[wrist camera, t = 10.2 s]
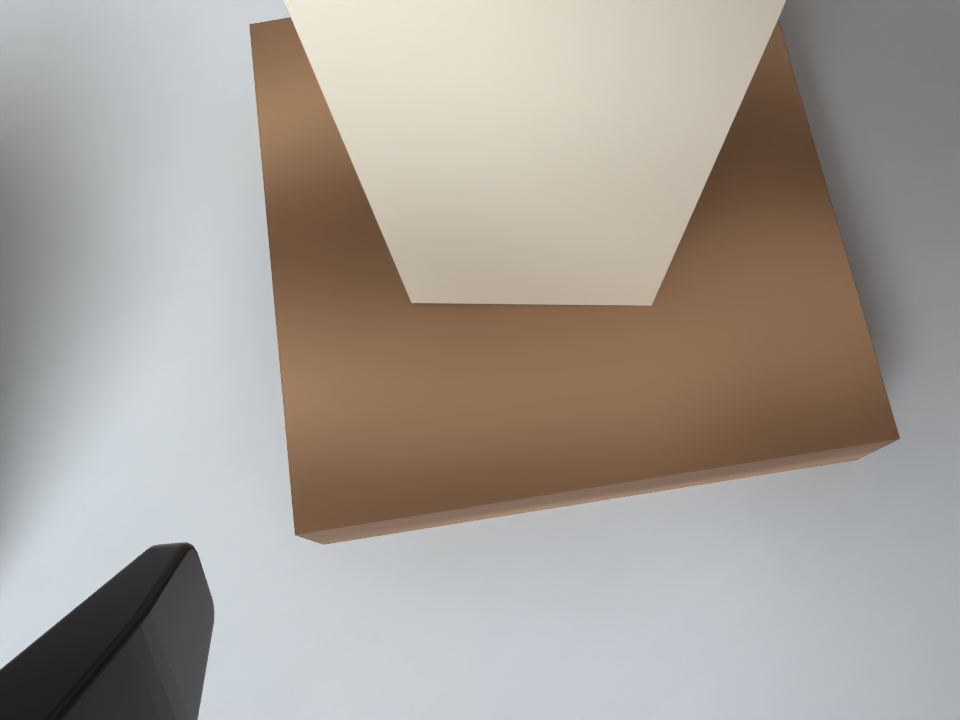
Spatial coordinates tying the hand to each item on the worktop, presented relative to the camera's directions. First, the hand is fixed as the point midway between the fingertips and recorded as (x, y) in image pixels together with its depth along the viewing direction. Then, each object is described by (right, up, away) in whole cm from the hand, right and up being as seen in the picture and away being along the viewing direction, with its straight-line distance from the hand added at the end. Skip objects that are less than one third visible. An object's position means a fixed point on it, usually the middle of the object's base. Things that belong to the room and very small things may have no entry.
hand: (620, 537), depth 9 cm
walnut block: (0, +4, +13) cm, 13 cm away
